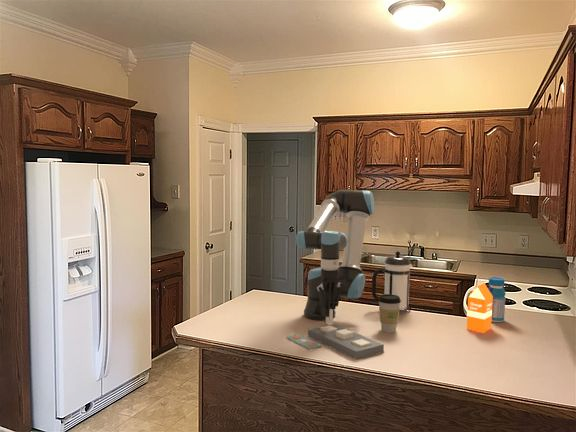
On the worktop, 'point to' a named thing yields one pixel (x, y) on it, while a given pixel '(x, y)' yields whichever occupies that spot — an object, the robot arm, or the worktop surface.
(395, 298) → the coffee cup
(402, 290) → the coffee press
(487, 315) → the orange juice
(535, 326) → the worktop surface
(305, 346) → the card
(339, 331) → the button middle
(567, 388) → the worktop surface
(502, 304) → the beverage bottle
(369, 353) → the board
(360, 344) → the button right
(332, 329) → the button left
